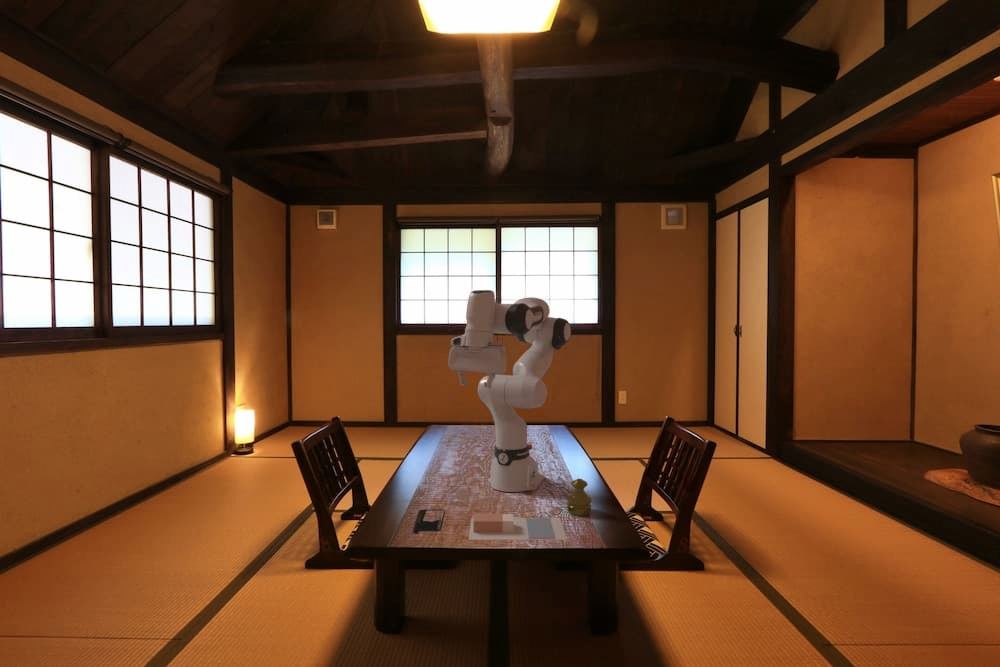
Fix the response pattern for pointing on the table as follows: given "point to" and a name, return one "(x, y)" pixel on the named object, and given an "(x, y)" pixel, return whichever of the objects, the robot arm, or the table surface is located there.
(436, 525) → the phone
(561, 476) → the table surface
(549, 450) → the table surface
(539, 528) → the mat
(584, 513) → the olive green vase
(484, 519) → the two-tone tall block
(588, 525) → the table surface
